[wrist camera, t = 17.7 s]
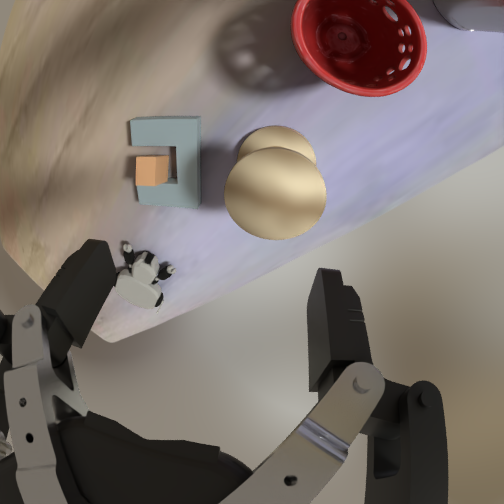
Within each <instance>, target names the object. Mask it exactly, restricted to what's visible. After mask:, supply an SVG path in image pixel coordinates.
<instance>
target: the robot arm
mask: <svg viewBox="0 0 504 504" xmlns="http://www.w3.org/2000/svg"><path fill="white" fill-rule="evenodd" d="M433 1H434V4H435V6H436V7H437V9H438V11H439V12H440V13H441V15H442V16H443V17H444V18H445V19H446V20H447V21H448V22H449V23H450V24H452V25H453V26H455V27H456V28H459V29H461V30H465V31H487V32H500V33H504V0H433ZM115 281H116V268H115V265H114V262H113V259H112V256H111V252H110V249H109V246H108V243H107V242H106V241H102V240H95V239H88V240H87V241H86V242H85V243H84V244H83V246H82V247H81V248H80V250H77V251H76V252H75V253H73V254H72V255H71V256H69V257H68V258H67V260H66V261H65V262H64V264H63V265H62V266H61V269H59V270H58V272H57V273H56V276H54V278H53V279H52V280H51V282H50V283H49V285H48V286H47V288H46V289H45V291H44V292H43V294H42V295H41V297H40V299H39V300H38V302H37V303H36V304H35V305H32V304H30V305H27V306H24V307H22V308H21V309H20V310H19V311H18V312H17V313H16V314H15V315H4V314H3V313H2V312H1V310H0V354H1V355H2V356H3V358H2V361H1V363H0V504H309V503H310V502H311V501H312V500H313V499H314V498H315V497H316V496H317V495H318V493H319V492H320V491H321V490H322V489H323V488H324V486H325V485H326V484H327V483H328V482H329V481H330V479H331V478H332V477H333V476H334V475H335V473H336V472H337V471H338V469H339V468H340V467H341V466H342V464H343V463H344V461H345V459H346V457H347V455H348V452H347V451H348V448H349V446H350V444H351V443H352V442H353V440H354V439H355V438H356V436H357V435H358V433H362V434H365V435H368V448H367V477H366V491H365V503H364V504H448V451H447V437H446V427H445V419H444V410H443V403H442V397H441V394H440V391H439V390H438V388H437V387H436V386H435V385H434V384H432V383H431V382H428V381H418V382H416V383H414V384H413V385H412V386H411V387H409V386H405V385H402V384H399V383H395V382H392V381H389V380H387V379H385V378H384V377H383V375H382V374H381V372H380V371H379V370H378V369H377V368H376V367H375V366H374V365H373V363H372V359H371V353H370V347H369V341H368V336H367V331H366V326H365V323H364V315H363V313H362V306H361V302H360V298H359V296H358V294H357V293H356V292H355V290H354V289H353V287H352V286H346V285H343V281H342V276H341V272H340V270H333V269H325V268H319V269H318V270H317V274H316V276H315V279H314V283H313V286H312V289H311V292H310V295H309V299H308V303H307V325H308V353H309V354H308V355H309V392H318V399H319V400H318V403H317V404H316V405H315V406H314V407H313V409H312V410H311V411H310V412H309V413H308V414H307V416H306V417H305V418H304V419H303V420H302V421H301V423H300V424H299V425H298V426H297V427H296V428H295V429H294V430H293V431H292V432H291V434H290V435H289V436H288V437H287V438H286V439H285V440H284V441H283V442H282V443H281V444H280V445H279V446H278V447H277V448H276V449H275V450H274V451H273V452H272V453H271V454H270V455H269V456H268V457H267V458H266V459H265V460H264V461H263V462H262V463H261V464H260V465H259V466H258V467H257V468H255V469H254V470H253V471H252V470H251V469H250V468H249V467H247V466H246V465H245V464H243V463H242V462H241V461H239V460H238V459H236V458H234V457H232V456H231V455H229V454H226V453H224V452H221V451H220V447H218V446H212V445H206V444H200V443H195V442H190V441H185V440H147V439H144V438H142V437H140V436H139V435H137V434H135V433H134V432H132V431H131V430H129V429H127V428H126V427H124V426H122V425H121V424H119V423H118V422H116V421H114V420H111V419H109V418H106V417H103V416H101V415H98V414H96V413H93V412H91V411H89V409H88V407H87V405H86V403H85V402H84V400H83V399H82V397H81V395H80V392H79V388H78V384H77V379H76V375H75V370H74V366H73V361H72V356H71V352H70V351H69V349H70V347H71V345H73V346H76V347H79V348H82V346H83V344H84V342H85V340H86V338H87V336H88V334H89V331H90V329H91V327H92V325H93V323H94V321H95V319H96V317H97V316H98V314H99V312H100V310H101V308H102V306H103V304H104V302H105V300H106V298H107V297H108V295H109V293H110V291H111V289H112V287H113V286H114V284H115ZM9 428H10V433H11V438H12V443H13V447H14V452H13V453H11V452H12V447H11V445H10V443H9V442H6V438H7V434H8V430H9ZM6 454H7V455H8V456H6Z"/></svg>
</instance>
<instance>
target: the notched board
mask: <svg viewBox="0 0 504 504" xmlns="http://www.w3.org/2000/svg"><path fill="white" fill-rule="evenodd" d="M130 126H131V139H132V146H176V159H177V178H168V181H167V182H165V183H162V184H159V185H157V186H140V185H137V191H138V198H139V204H144V205H157V206H169V207H181V208H192V209H198V208H199V206H200V204H201V170H200V141H201V116H153V117H136V118H134V119H132V120H130Z"/></svg>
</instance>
